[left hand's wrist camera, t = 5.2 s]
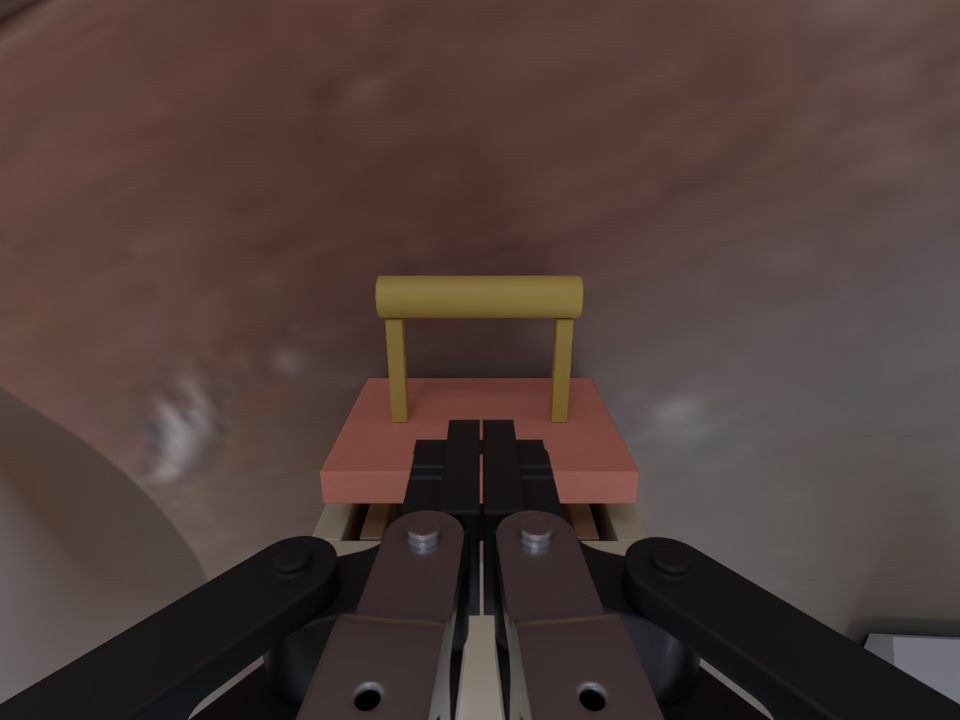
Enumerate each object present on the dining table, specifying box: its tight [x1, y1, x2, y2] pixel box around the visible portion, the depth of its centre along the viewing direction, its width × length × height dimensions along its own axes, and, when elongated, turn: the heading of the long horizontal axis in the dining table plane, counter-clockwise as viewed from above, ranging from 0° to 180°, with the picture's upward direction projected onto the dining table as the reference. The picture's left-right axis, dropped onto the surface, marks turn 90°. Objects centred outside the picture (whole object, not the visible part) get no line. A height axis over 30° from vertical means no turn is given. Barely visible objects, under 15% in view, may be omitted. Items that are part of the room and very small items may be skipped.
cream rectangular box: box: [312, 503, 648, 720], centre depth 24 cm, size 18×11×10 cm, turn 0°
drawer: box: [320, 276, 639, 541], centre depth 22 cm, size 22×10×8 cm, turn 0°
